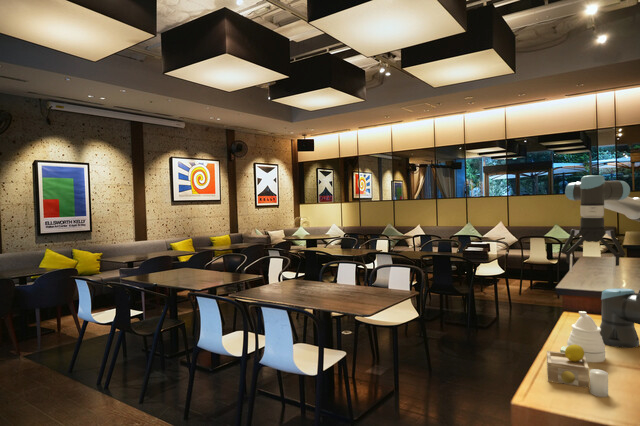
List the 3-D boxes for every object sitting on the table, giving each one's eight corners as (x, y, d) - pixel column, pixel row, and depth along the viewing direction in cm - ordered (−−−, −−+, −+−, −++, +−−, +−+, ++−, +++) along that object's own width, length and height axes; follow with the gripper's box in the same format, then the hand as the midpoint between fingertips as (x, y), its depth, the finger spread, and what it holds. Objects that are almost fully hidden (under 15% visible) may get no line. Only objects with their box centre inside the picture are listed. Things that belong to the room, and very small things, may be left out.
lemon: (577, 352, 146) (588, 344, 150) (560, 347, 150) (571, 339, 155) (577, 367, 146) (588, 358, 151) (560, 361, 151) (571, 353, 156)
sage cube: (562, 358, 168) (562, 345, 167) (576, 361, 165) (576, 348, 164) (560, 362, 164) (560, 349, 163) (575, 365, 161) (575, 352, 160)
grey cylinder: (601, 389, 141) (601, 368, 140) (611, 396, 136) (611, 375, 135) (586, 390, 140) (586, 369, 140) (596, 397, 135) (596, 375, 135)
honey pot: (591, 364, 161) (591, 317, 160) (559, 353, 173) (559, 309, 172) (612, 358, 166) (613, 313, 165) (581, 348, 178) (581, 305, 177)
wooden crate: (546, 369, 158) (546, 350, 158) (584, 374, 153) (584, 355, 153) (548, 382, 147) (548, 362, 147) (588, 388, 142) (588, 368, 142)
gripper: (554, 217, 162) (554, 272, 163) (634, 217, 150) (634, 277, 150) (554, 216, 168) (554, 269, 169) (631, 216, 156) (631, 273, 157)
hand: (591, 273), depth 160 cm, fingers open, 13 cm apart
